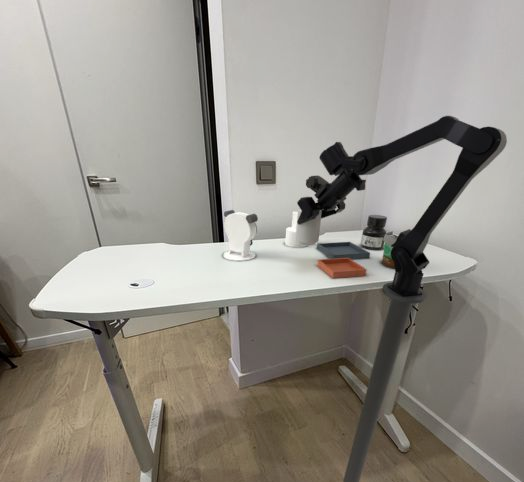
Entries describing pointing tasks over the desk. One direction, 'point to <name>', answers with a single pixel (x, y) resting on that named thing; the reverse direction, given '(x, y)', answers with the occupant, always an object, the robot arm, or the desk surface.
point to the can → (308, 230)
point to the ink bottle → (374, 232)
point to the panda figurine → (240, 235)
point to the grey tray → (342, 250)
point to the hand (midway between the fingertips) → (305, 221)
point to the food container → (388, 249)
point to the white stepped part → (293, 233)
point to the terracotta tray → (341, 267)
